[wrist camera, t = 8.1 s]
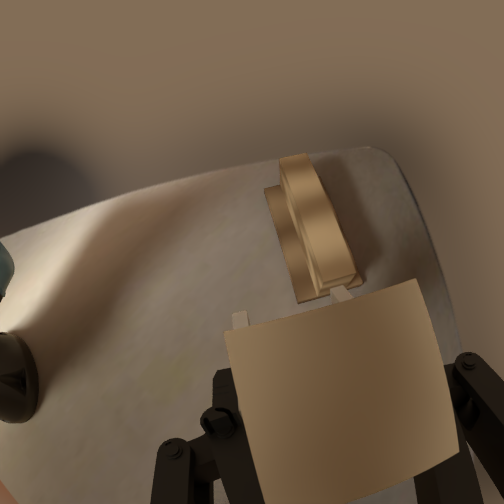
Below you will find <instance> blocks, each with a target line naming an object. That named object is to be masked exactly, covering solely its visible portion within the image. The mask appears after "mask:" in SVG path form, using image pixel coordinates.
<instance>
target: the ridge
mask: <svg viewBox="0 0 504 504" xmlns="http://www.w3.org/2000/svg"><path fill="white" fill-rule="evenodd" d="M279 164H280V185H277V186H273V187H269V188H265V189H264V193H265V196H266V199H267V202H268V205H269V209H270V212H271V215H272V218H273V222H274V225H275V228H276V231H277V235H278V238H279V241H280V245H281V248H282V251H283V254H284V258H285V261H286V265H287V268H288V271H289V275H290V278H291V282H292V285H293V288H294V292H295V295H296V299H297V302H298V304H300V303H304V302H307V301H311V300H314V299H318V298H322V297H325V296H329V295H331V294H330V288H334V287H337V286H341V285H344V287H345V288H346V289H347V290H349V289H352V288H356V287H359V286H361V285H362V284H363V282H362V279H361V277H360V274H359V271H358V268H357V266H356V263H355V260H354V258H353V255H352V252H351V250H350V247H349V244H348V242H347V239H346V237H345V234H344V232H343V229H342V227H341V224H340V222H339V219H338V217H337V215H336V212H335V210H334V207H333V205H332V203H331V200H330V198H329V196H328V193H327V191H326V189H325V187H324V184H323V182H322V180H321V178H320V176H319V177H318V176H317V174H316V172H315V170H314V168H313V165H312V163H311V161H310V159H309V157H308V155H307V153H303V154H298V155H293V156H288V157H284V158H279Z"/></svg>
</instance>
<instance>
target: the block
mask: <svg viewBox="0 0 504 504" xmlns="http://www.w3.org/2000/svg"><path fill="white" fill-rule="evenodd" d="M223 333H224V337H225V342H226V347H227V352H228V356H229V361H230V365H231V370H232V375H233V379H234V383H235V388H236V392H237V396H238V401H239V405H240V409H241V413H242V418H243V422H244V426H245V430H246V434H247V438H248V442H249V446H250V450H251V453H252V457H253V461H254V465H255V469H256V472H257V476H258V480H259V483H260V487H261V490H262V494H263V498H264V501H265V504H345V503H348V502H351V501H354V500H357V499H360V498H363V497H366V496H368V495H371V494H374V493H376V492H379V491H382V490H384V489H387V488H389V487H391V486H394V485H396V484H398V483H401V482H403V481H405V480H407V479H409V478H412V477H414V476H416V475H418V474H420V473H422V472H424V471H426V470H428V469H430V468H432V467H434V466H435V465H437V464H439V463H441V462H443V461H445V460H446V459H448V458H450V457H452V456H453V455H455V454H457V453H458V452H459V445H458V437H457V430H456V424H455V418H454V412H453V407H452V402H451V397H450V392H449V387H448V383H447V378H446V374H445V370H444V366H443V362H442V358H441V354H440V351H439V347H438V343H437V340H436V337H435V333H434V330H433V327H432V323H431V320H430V317H429V314H428V311H427V308H426V305H425V302H424V299H423V296H422V293H421V291H420V288H419V285H418V282H417V280H416V278H414V279H412V280H409V281H406V282H403V283H400V284H397V285H394V286H391V287H388V288H385V289H382V290H378V291H375V292H372V293H369V294H366V295H363V296H359V297H356V298H353V299H349V300H346V301H343V302H339V303H336V304H332V305H329V306H325V307H322V308H318V309H315V310H311V311H307V312H303V313H300V314H296V315H292V316H288V317H284V318H280V319H276V320H272V321H268V322H264V323H260V324H256V325H252V326H247V327H243V328H239V329H234V330H230V331H225V332H223Z"/></svg>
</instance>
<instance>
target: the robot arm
mask: <svg viewBox="0 0 504 504" xmlns="http://www.w3.org/2000/svg"><path fill="white" fill-rule="evenodd" d="M14 270H15V267H14V262H13V259H12V257H11V255H10V254H9V252H8V251H7V250H6V248H5V247H4V246H3V244H2V243H1V242H0V302H1V300H2V298H3V297H5V294H6V293H5V291H6V289H7V287H8V285H9V283H10V281H11V279H12V277H13V275H14ZM330 294H331V303H332V304H336V303H339V302H343V301H346V300H349V299H353V297H352V296H351V294H350V293H349V292H348V291H347V289H346V288H345V287H344V285H341V286H337V287H334V288H330ZM232 320H233V330H234V329H239V328H243V327H247V326H251V325H250V321H249V318H248V314H247V311H246V310H245V311H240V312H236V313H232ZM443 366H444V370H445V374H446V378H447V383H448V387H449V392H450V397H451V402H452V407H453V412H454V418H455V424H456V430H457V437H458V445H459V452H458V453H457V454H455V455H453V456H452V457H450V458H448V459H446V460H445V461H443V462H441V463H439V464H437V465H435V466H434V467H432V468H430V469H428V470H426V471H424V472H422V473H420V474H418V475H416V476H414V483H415V489H416V495H417V502H418V504H484V503H483V498H482V494H481V490H480V486H479V482H478V479H477V475H476V471H475V468H474V464H473V461H472V458H471V455H470V451H469V448H468V445H467V442H468V444H469V445H470V447H471V448H472V450H473V451H474V453H475V454H476V456H477V457H478V459H479V460H480V462H481V463H482V465H483V467H484V468H485V470H486V471H487V473H488V474H489V476H490V478H491V479H492V481H493V482H494V484H495V486H496V487H497V489H498V490H499V492H500V494H501V496H502V497H503V499H504V381H503V380H502V379H501V378H500V377H499V376H498V375H497V374H496V372H495V371H494V370H493V369H492V368H490V366H489V365H488V364H487V363H486V362H485V361H484V360H483V359H482V358H481V357H480V356H478V355H477V354H476V353H472V352H465V353H462V354H460V355H459V356H457V358H456V360H455V363H453V364H448V365H443ZM37 399H38V376H37V370H36V365H35V362H34V359H33V356H32V354H31V352H30V350H29V348H28V346H27V345H26V344H25V342H24V341H23V340H22V339H21V338H19V337H18V336H15V335H12V334H9V333H5V332H0V420H2V421H4V422H7V423H23V422H26V421H27V420H28V419H29V418H30V417H31V416H32V414H33V412H34V410H35V407H36V404H37ZM200 425H201V426H202V428H203V429H204V431H205V434H204V435H202V436H200V437H198V438H196V439H193V440H191V441H188V442H187V441H185V440H183V439H181V438H173V439H169V440H167V441H165V442H163V443H162V445H161V446H160V447H159V449H158V452H157V458H156V465H155V472H154V479H153V486H152V494H151V502H150V504H214V492H213V481H214V480H217V479H220V478H221V480H222V483H223V486H224V489H225V492H226V494H227V497H228V500H229V503H230V504H265V501H264V498H263V494H262V490H261V487H260V483H259V480H258V476H257V472H256V469H255V465H254V461H253V457H252V453H251V450H250V446H249V442H248V438H247V434H246V430H245V426H244V422H243V418H242V413H241V409H240V405H239V401H238V396H237V392H236V388H235V383H234V379H233V375H232V370H231V368H227V369H222V370H217V372H216V374H215V376H214V378H213V399H212V407H211V408H209V409H207V410H206V411H205V412H204V413H203V414H202V416H201V418H200ZM466 441H467V442H466Z"/></svg>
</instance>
